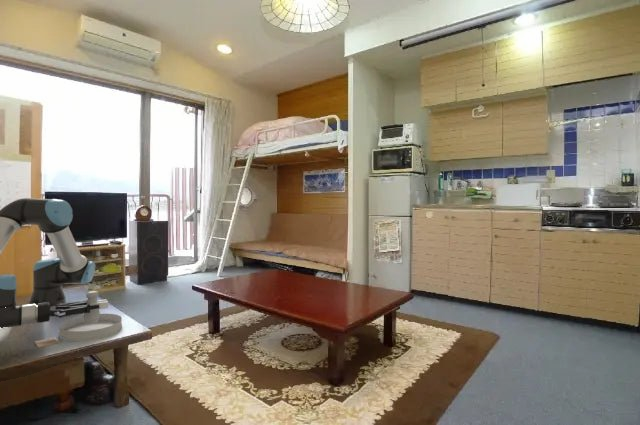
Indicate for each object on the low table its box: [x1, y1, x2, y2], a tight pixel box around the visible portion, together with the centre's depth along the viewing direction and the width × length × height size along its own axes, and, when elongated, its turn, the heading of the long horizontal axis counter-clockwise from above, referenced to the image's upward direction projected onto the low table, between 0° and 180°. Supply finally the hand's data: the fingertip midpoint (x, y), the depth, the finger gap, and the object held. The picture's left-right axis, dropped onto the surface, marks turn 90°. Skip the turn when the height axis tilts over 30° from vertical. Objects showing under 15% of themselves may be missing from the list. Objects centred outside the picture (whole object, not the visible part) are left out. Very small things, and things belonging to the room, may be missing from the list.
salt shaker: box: [83, 290, 101, 324], centre depth 143 cm, size 6×6×13 cm
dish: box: [58, 313, 123, 342], centre depth 143 cm, size 22×22×5 cm
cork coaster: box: [34, 337, 59, 349], centre depth 129 cm, size 6×6×1 cm
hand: (107, 303), depth 146 cm, fingers closed on salt shaker, 3 cm apart
